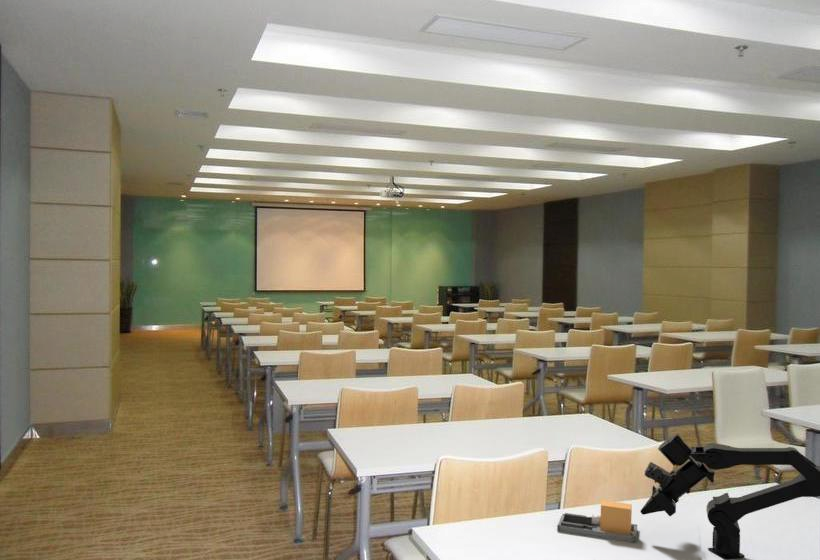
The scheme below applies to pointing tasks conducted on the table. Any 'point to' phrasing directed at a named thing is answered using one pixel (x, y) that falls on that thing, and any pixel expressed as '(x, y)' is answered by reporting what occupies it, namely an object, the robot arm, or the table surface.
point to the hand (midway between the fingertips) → (641, 512)
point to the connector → (614, 517)
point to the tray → (591, 528)
